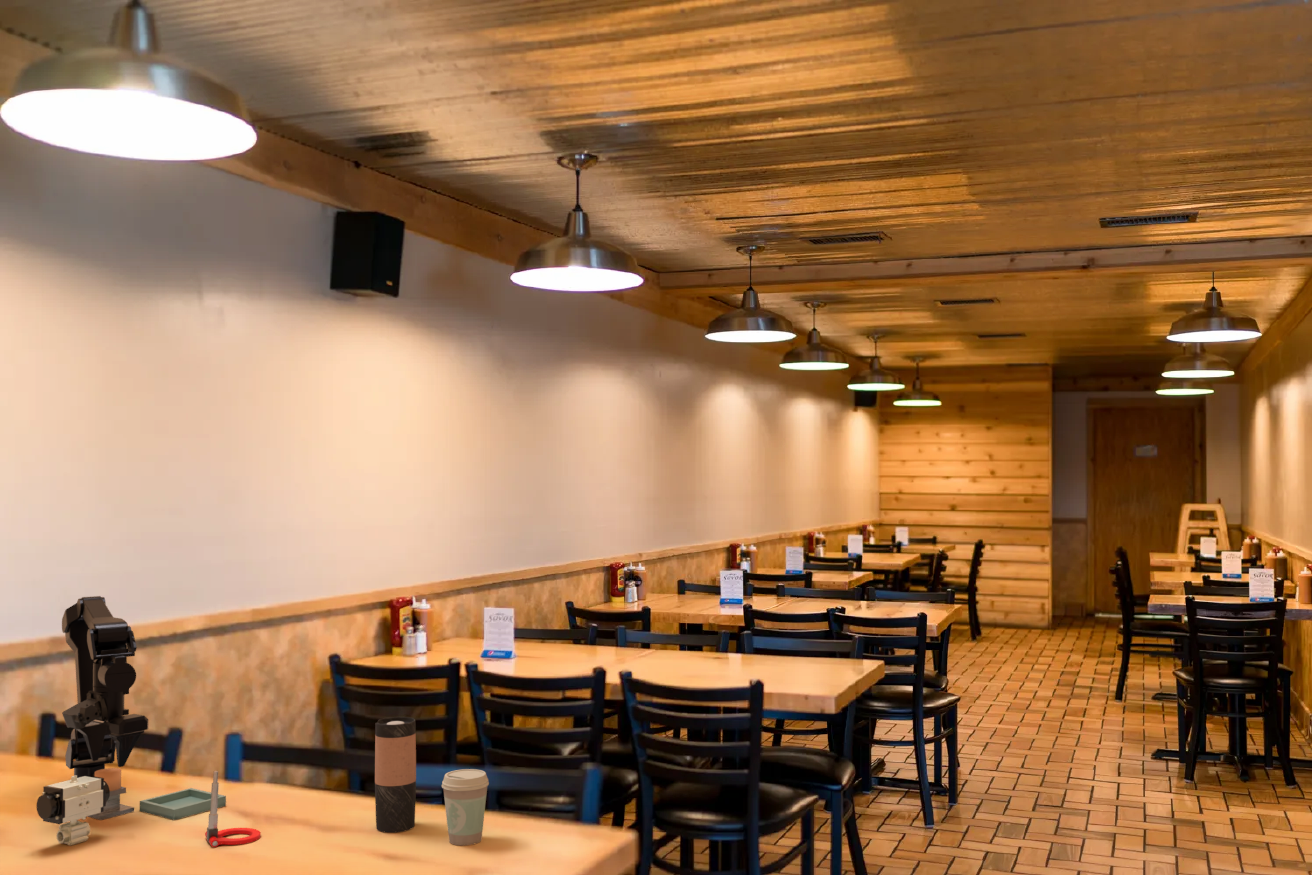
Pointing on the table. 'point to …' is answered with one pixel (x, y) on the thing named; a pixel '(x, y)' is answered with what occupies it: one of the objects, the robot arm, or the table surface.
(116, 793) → the tan cylindrical plug
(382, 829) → the travel mug
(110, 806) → the stud fixture
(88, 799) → the pneumatic valve
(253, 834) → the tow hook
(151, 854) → the table surface
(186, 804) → the bin
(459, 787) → the coffee cup
